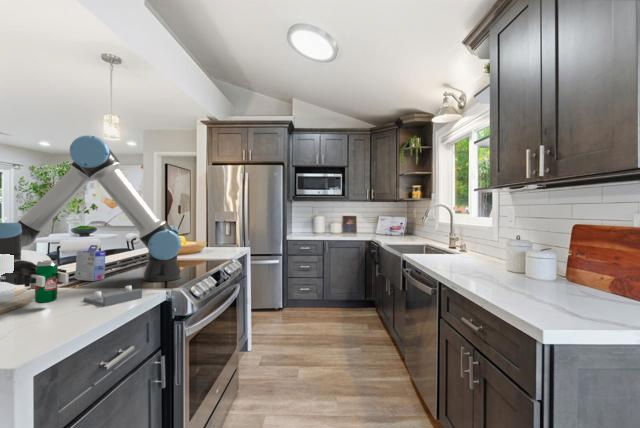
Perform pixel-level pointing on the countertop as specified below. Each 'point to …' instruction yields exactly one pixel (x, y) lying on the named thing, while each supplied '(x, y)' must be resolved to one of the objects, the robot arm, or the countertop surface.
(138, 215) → the robot arm
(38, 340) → the countertop surface
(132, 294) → the dock
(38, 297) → the soda can
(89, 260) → the ink cartridge box
